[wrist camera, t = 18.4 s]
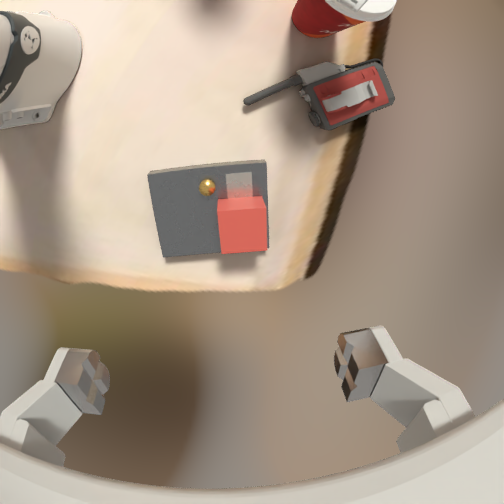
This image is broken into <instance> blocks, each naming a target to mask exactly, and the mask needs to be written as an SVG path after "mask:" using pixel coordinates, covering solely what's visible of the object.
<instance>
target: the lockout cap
mask: <svg viewBox="0 0 504 504" xmlns="http://www.w3.org/2000/svg"><path fill="white" fill-rule="evenodd" d="M217 215H218V225H219V234H220V244H221V253H222V254H229V253H241V252H253V251H265V250H267V218H266V206H265V203H264V200H263V198H262V196H254V197H240V198H228V199H218V206H217Z"/></svg>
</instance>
